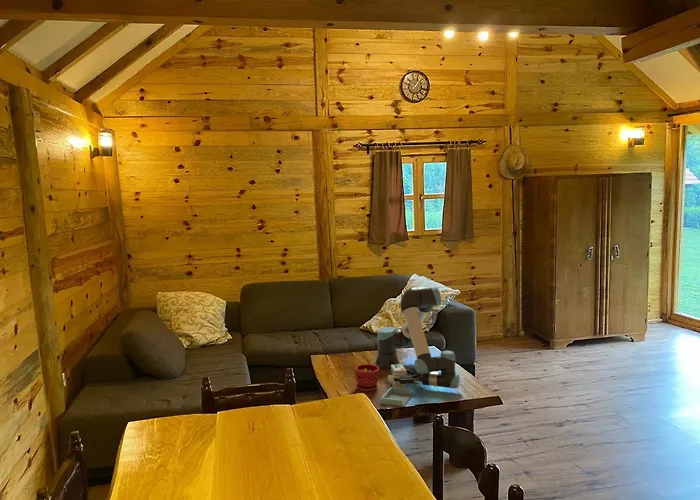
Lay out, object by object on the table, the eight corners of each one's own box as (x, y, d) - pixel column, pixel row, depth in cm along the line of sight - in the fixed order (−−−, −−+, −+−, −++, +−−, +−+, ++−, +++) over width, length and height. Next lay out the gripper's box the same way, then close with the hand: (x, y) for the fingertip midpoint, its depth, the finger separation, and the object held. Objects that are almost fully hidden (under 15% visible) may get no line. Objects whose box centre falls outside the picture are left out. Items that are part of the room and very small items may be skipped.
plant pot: (363, 394, 274) (362, 373, 273) (351, 387, 286) (350, 366, 285) (384, 389, 280) (383, 368, 279) (371, 382, 292) (371, 362, 291)
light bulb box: (390, 382, 290) (390, 364, 289) (402, 382, 291) (402, 363, 290) (394, 389, 280) (394, 370, 279) (406, 389, 281) (406, 369, 279)
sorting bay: (380, 404, 261) (380, 398, 261) (390, 392, 276) (390, 387, 275) (403, 407, 256) (403, 401, 256) (412, 395, 271) (412, 389, 271)
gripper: (424, 393, 267) (385, 388, 276) (435, 377, 289) (398, 373, 298) (424, 379, 266) (385, 374, 275) (435, 364, 289) (398, 361, 297)
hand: (392, 374), depth 286 cm, fingers closed on light bulb box, 12 cm apart
